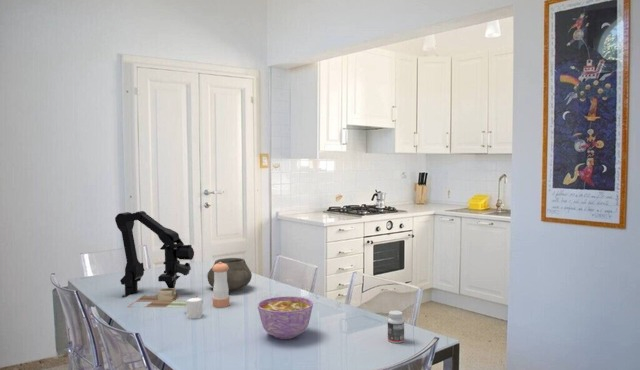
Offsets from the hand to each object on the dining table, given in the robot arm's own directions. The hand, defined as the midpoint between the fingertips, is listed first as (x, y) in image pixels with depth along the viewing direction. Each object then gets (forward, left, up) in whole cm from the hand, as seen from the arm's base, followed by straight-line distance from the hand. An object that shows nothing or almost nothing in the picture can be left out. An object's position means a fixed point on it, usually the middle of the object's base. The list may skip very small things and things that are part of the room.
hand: (172, 292), depth 238 cm
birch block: (+7, 0, -1) cm, 7 cm away
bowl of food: (+50, +59, -3) cm, 78 cm away
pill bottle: (+55, +98, -3) cm, 113 cm away
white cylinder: (+28, +19, -3) cm, 34 cm away
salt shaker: (+12, +26, -3) cm, 29 cm away
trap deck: (+11, 0, -2) cm, 12 cm away
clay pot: (-14, +24, -3) cm, 28 cm away
